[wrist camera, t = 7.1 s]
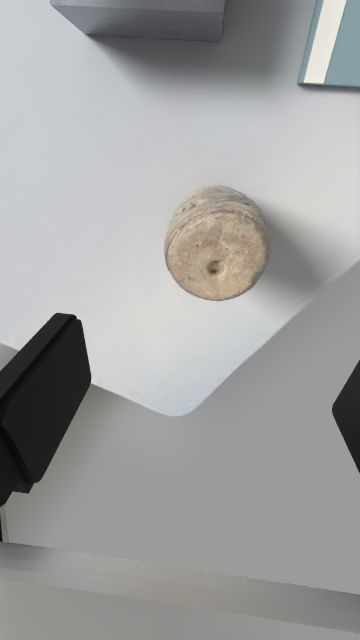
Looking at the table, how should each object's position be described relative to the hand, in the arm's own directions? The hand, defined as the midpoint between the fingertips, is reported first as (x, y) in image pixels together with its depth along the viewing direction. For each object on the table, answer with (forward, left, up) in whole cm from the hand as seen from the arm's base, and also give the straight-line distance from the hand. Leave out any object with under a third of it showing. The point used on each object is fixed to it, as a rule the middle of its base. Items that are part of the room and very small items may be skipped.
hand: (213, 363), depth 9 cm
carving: (0, 0, -20) cm, 20 cm away
